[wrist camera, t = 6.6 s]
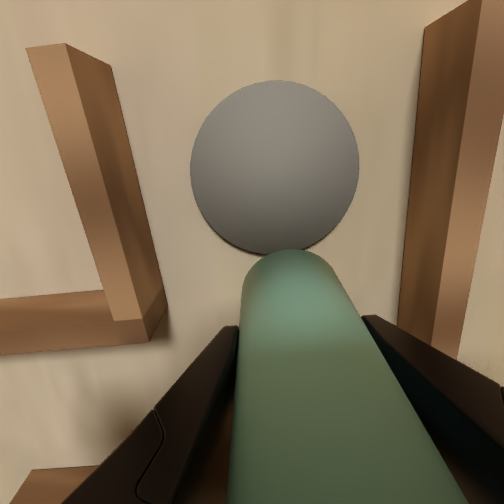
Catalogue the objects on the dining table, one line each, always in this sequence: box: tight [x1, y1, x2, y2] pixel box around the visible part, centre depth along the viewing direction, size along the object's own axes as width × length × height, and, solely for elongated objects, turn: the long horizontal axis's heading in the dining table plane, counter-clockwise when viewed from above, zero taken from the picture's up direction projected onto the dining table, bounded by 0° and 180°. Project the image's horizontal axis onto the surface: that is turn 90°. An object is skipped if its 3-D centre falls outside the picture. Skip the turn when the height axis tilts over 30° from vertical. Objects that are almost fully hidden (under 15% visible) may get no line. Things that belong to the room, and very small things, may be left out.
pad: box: [190, 81, 359, 254], centre depth 11 cm, size 6×6×1 cm
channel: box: [0, 0, 504, 504], centre depth 12 cm, size 20×21×2 cm
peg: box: [226, 249, 469, 504], centre depth 7 cm, size 4×4×8 cm
